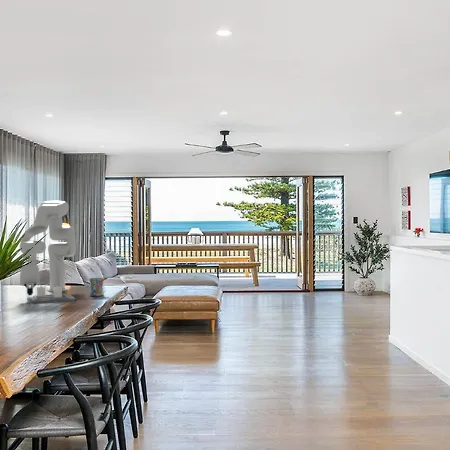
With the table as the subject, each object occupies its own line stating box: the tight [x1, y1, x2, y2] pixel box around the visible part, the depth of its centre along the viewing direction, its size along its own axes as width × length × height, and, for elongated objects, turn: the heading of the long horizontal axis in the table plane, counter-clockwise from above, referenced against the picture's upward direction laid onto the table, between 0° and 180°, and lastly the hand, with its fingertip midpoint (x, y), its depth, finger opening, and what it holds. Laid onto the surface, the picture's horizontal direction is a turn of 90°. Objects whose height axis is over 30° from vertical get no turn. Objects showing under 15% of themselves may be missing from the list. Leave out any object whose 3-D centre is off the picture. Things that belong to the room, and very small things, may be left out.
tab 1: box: [36, 284, 46, 297], centre depth 301 cm, size 4×4×7 cm
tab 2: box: [52, 286, 63, 298], centre depth 297 cm, size 4×4×7 cm
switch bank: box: [26, 293, 76, 305], centre depth 299 cm, size 18×24×2 cm
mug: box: [88, 277, 105, 297], centre depth 315 cm, size 12×9×11 cm
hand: (30, 295), depth 298 cm, fingers closed
